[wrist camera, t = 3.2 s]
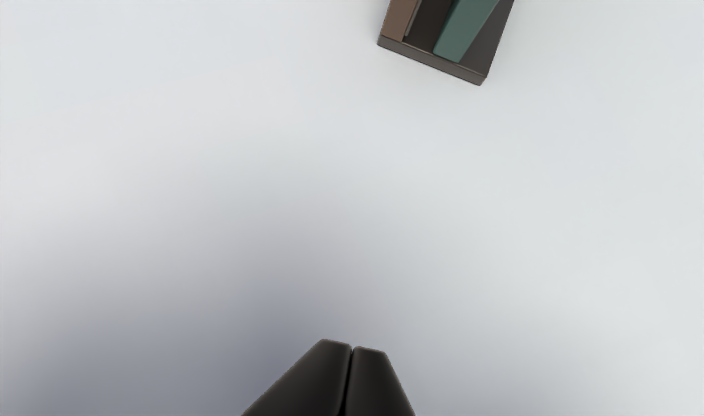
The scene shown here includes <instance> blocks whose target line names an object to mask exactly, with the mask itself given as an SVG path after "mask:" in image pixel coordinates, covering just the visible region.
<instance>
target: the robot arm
mask: <svg viewBox="0 0 704 416" xmlns="http://www.w3.org/2000/svg"><path fill="white" fill-rule="evenodd" d="M241 416H415V414H414V412H413V409H412V407H411V405H410V403H409V401H408V399H407V397H406V395H405V393H404V390H403V388H402V386H401V384H400V382H399V380H398V378H397V376H396V374H395V371H394V369H393V367H392V365H391V363H390V361H389V359H388V357H387V355H386V354H385V353H384V352H383V351H379V350H375V349H370V348H365V347H361V346H357V347H355V348H354V349H353V351H352V347H351V346H350V345H349V344H347V343H342V342H338V341H333V340H329V339H321V340H320V341H318V342H317V343H316V344H315V345H314V346H313V347H312V348H311V349H310V350H309V351H308V352H307V353H306V354H305V355H304V356H303V357H302V358H300V359H299V360H298V361H297V362H296V363H295V364H294V365H293V366H292V367H291V368H290V369H289V370H288V371H287V372H286V373H285V374H284V375H283V376H282V377H281V378H280V379H279V380H277V381H276V382H275V383H274V384H273V385H272V386H271V387H270V388H269V389H268V390H267V391H266V392H265V393H264V394H263V395H262V396H261V397H260V398H259V399H258V400H257V401H256V402H254V403H253V404H252V405H251V406H250V407H249V408H248V409H247V410H246V411H245V412H244V413H243V414H242V415H241Z"/></svg>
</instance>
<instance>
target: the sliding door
mask: <svg viewBox="0 0 704 416" xmlns="http://www.w3.org/2000/svg"><path fill="white" fill-rule="evenodd" d="M498 1H499V0H452V2H451V4H450V7H449V10H448V12H447V15H446V17H445V20H444V23H443V25H442V28H441V30H440V33H439V36H438V38H437V41H436V44H435V46H434V49H433V53H434V54H436V55H438V56H441V57H443V58H446V59H448V60H451V61H453V62H456V63H459V62H460V60H461V59H462V57H463V56H464V54H465V52H466V51H467V49H468V48H469V46H470V45H471V43H472V42H473V40H474V39H475V37H476V35H477V34H478V32H479V31H480V29H481V28H482V26H483V25H484V23H485V21H486V20H487V18H488V17H489V15H490V14H491V12H492V11H493V9H494V7H495V6H496V4H497V3H498Z"/></svg>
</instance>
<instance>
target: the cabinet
mask: <svg viewBox="0 0 704 416" xmlns="http://www.w3.org/2000/svg"><path fill="white" fill-rule="evenodd" d="M451 2H452V0H391V1H390V4H389V7H388V10H387V14H386V17H385V20H384V23H383V26H382V29H381V32H380V36H379V39H378V42H377V44H378V45H380V46H382V47H385V48H387V49H390V50H392V51H395V52H397V53H400V54H402V55H405V56H407V57H410V58H412V59H415V60H417V61H420V62H422V63H425V64H427V65H430V66H432V67H435V68H437V69H439V70H442V71H444V72H447V73H449V74H452V75H454V76H457V77H459V78H462V79H464V80H467V81H469V82H472V83H474V84H477V85H481V84H482V83H483V81H484V80H485V79H486V77H487V75H488V72H489V70H490V67H491V64H492V61H493V58H494V56H495V53H496V50H497V47H498V44H499V42H500V39H501V36H502V33H503V30H504V28H505V25H506V22H507V19H508V16H509V13H510V11H511V8H512V5H513V2H514V0H499V1H498V3H497V4H496V6H495V7H494V9H493V11H492V12H491V14H490V15H489V17H488V18H487V20H486V21H485V23H484V25H483V26H482V28H481V29H480V31H479V32H478V34H477V35H476V37H475V39H474V40H473V42H472V43H471V45H470V46H469V48H468V49H467V51H466V52H465V54H464V56H463V57H462V59H461V60H460V62H459V63H456V62H453V61H451V60H448V59H446V58H443V57H441V56H438V55H436V54H434V53H433V49H434V46H435V44H436V41H437V38H438V36H439V33H440V30H441V28H442V25H443V23H444V20H445V17H446V15H447V12H448V10H449V7H450V4H451Z"/></svg>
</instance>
